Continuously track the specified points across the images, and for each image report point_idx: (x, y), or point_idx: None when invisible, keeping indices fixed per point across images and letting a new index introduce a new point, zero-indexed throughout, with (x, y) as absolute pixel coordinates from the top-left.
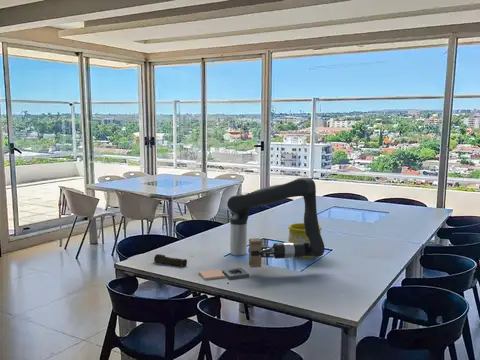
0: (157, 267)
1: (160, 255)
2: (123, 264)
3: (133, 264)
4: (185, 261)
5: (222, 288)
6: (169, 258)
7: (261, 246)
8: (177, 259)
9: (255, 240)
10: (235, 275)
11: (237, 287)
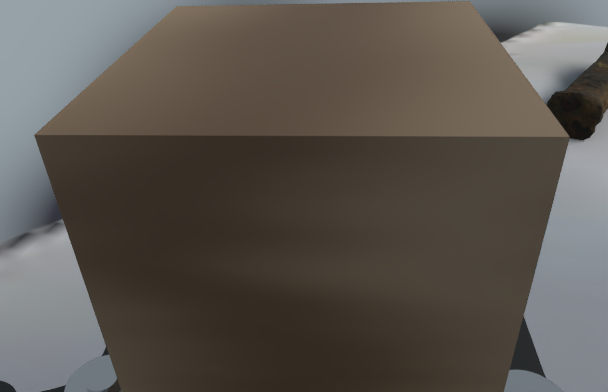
0: (527, 74)
1: None
2: (556, 26)
3: (561, 38)
4: (573, 105)
5: (64, 229)
6: (599, 63)
7: (101, 330)
8: (584, 78)
9: (210, 44)
10: None
11: (6, 307)
